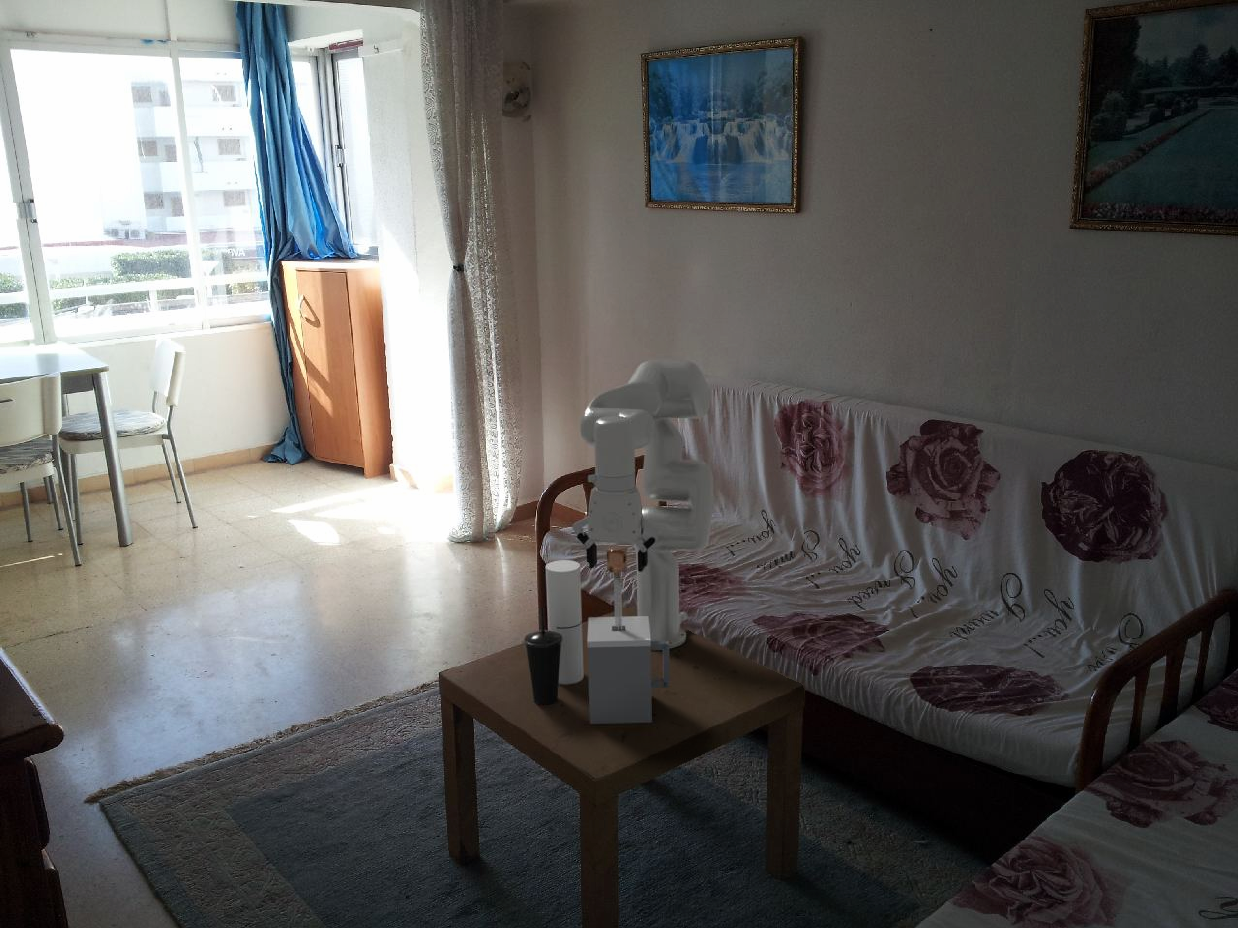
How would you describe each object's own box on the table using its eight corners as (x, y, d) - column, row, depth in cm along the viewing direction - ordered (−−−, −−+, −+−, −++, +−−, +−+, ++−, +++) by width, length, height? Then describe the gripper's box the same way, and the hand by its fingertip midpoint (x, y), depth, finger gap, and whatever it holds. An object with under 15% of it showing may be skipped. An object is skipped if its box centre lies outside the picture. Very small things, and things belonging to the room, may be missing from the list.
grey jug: (589, 723, 207) (587, 641, 203) (590, 695, 218) (588, 617, 214) (671, 721, 207) (670, 639, 203) (668, 693, 218) (667, 615, 214)
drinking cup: (538, 712, 212) (533, 618, 207) (520, 697, 218) (516, 606, 213) (571, 702, 216) (568, 609, 211) (553, 688, 222) (549, 598, 217)
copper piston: (596, 671, 206) (593, 557, 200) (596, 652, 215) (593, 542, 209) (642, 670, 206) (641, 556, 200) (641, 651, 215) (639, 541, 209)
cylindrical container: (579, 685, 223) (575, 572, 217) (546, 682, 225) (541, 570, 219) (587, 670, 230) (583, 560, 224) (554, 668, 231) (550, 559, 225)
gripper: (565, 485, 200) (568, 571, 204) (655, 489, 196) (656, 577, 200) (577, 475, 207) (579, 558, 211) (664, 479, 203) (665, 564, 207)
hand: (617, 567), depth 205 cm, fingers open, 9 cm apart
